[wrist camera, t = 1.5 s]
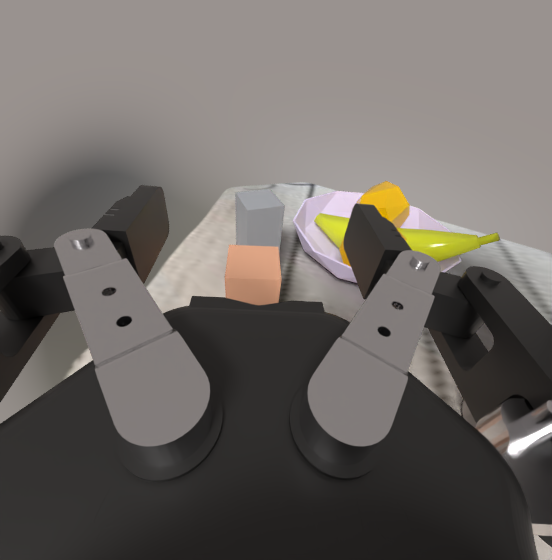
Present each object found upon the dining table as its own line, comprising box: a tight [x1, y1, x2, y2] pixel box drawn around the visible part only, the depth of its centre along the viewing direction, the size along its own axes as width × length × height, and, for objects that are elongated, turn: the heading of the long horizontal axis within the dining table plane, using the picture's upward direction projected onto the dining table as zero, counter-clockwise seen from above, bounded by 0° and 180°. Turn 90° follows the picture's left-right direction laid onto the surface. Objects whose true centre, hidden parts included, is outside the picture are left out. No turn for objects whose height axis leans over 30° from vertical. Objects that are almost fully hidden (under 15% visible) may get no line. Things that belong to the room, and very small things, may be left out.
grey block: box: [235, 189, 285, 252], centre depth 40 cm, size 5×5×12 cm
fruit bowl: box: [293, 181, 500, 283], centre depth 45 cm, size 28×27×11 cm
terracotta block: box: [225, 245, 281, 305], centre depth 30 cm, size 5×5×12 cm
